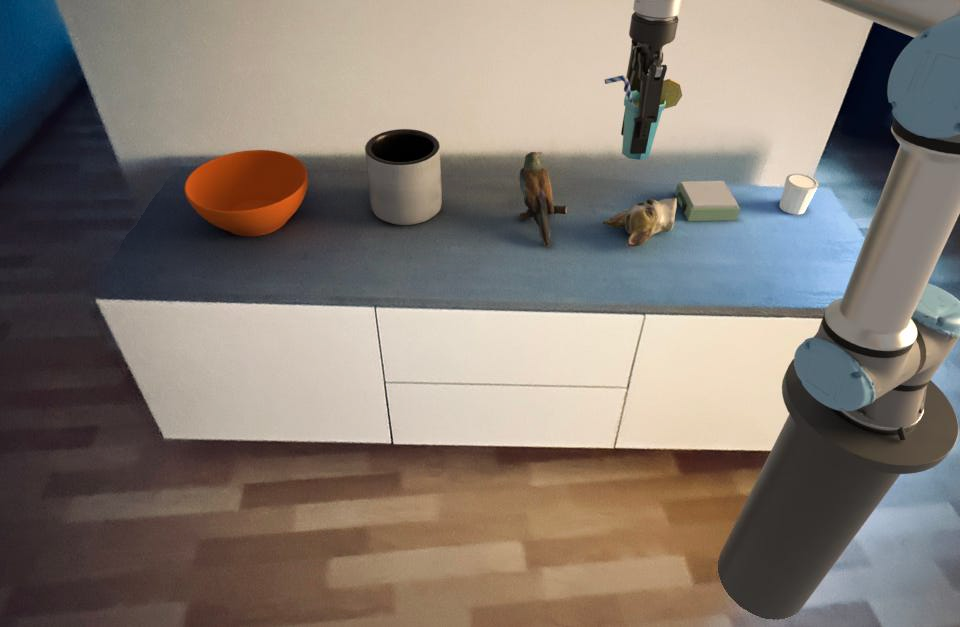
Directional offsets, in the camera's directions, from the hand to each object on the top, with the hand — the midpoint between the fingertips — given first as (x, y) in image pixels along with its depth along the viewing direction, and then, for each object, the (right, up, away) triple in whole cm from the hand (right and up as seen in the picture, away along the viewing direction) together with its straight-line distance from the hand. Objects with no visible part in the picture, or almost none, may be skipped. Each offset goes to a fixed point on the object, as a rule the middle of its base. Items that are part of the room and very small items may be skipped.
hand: (633, 143), depth 125 cm
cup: (0, -2, +1) cm, 2 cm away
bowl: (-78, -11, +24) cm, 82 cm away
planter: (-45, -8, +28) cm, 53 cm away
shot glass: (+43, -7, +30) cm, 53 cm away
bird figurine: (-15, -11, +25) cm, 31 cm away
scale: (+23, -7, +29) cm, 38 cm away
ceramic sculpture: (+7, -14, +21) cm, 27 cm away
